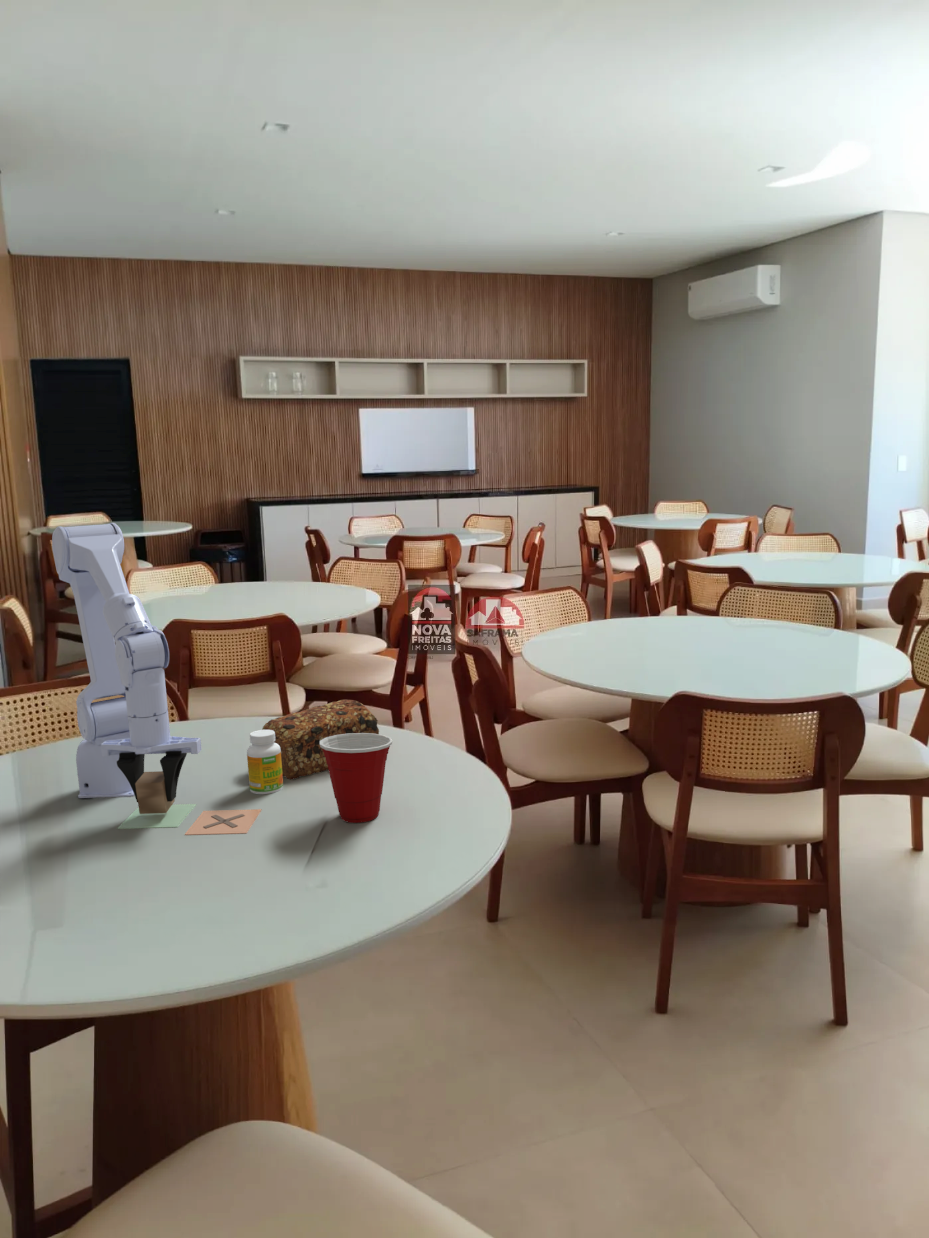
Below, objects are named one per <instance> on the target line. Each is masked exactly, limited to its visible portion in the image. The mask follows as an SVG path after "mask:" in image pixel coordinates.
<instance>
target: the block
mask: <svg viewBox="0 0 929 1238" xmlns="http://www.w3.org/2000/svg"><path fill="white" fill-rule="evenodd" d="M135 785H136V792H137V799H138V802H137V803H138V805H137V806H138V807H139V813H140V814H155V813H167V811H168V810H169V808H170V807H171V806H172V805H174V802H175V799H176V798H175V799H174V800H173V801H168V802H167V798H166V788H165V779H164V774H163V770H162V771H144V773H143V775H142V776H141V777H140V778H139V779H138V781H137V782H136V783H135Z"/></svg>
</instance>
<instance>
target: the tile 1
mask: <svg viewBox="0 0 929 1238" xmlns="http://www.w3.org/2000/svg"><path fill="white" fill-rule="evenodd" d="M196 806H197V803H188V804H187V803H186V804H185V803H183V804H182V803H181V804H180V803H179V804H177V803H175V804H172V806H171V807H170V808H169V810H168V811H167V813H155V814H140V813H139V806H138V807H137V808H135V810H134V811H133V812H132V813H131V814H130V815H129V816H128V817H127V818H126V819H125V820H124V821H123V822H122V823H120V825H119V826H117V827H116V829H117V830H125V829H126V830H128V829H130V830H131V829H162V828H163V829H165V828H166V829H168V828H179V826H180V825H181V824H182V822H184V820H186V818H187V817H188V815H189V814H190V813H191V812H192V811H193V810H194V808H196Z"/></svg>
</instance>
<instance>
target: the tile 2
mask: <svg viewBox="0 0 929 1238" xmlns="http://www.w3.org/2000/svg"><path fill="white" fill-rule="evenodd" d="M262 811H263V810H262V809H261V808H258V809H227V810H226V809H223V810H221V809H220V810H218V809H217V810H215V809H214V810H202V812H201V814H200V815H199V816H198V817H197V818H196V819H195V821H194V822H193V823H192V825H190V827H189V828H188V829H187V831H186V832H185V833H184V836H201V835H202V836H203V835H236V834H237V835H240V834H241V835H243V834H244V835H245V834H248V832H249V831H250V829H251V827H252V826H253V825H254V823H255V822H256V820H257V818H258V817H259V816H260V813H261V812H262Z"/></svg>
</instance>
